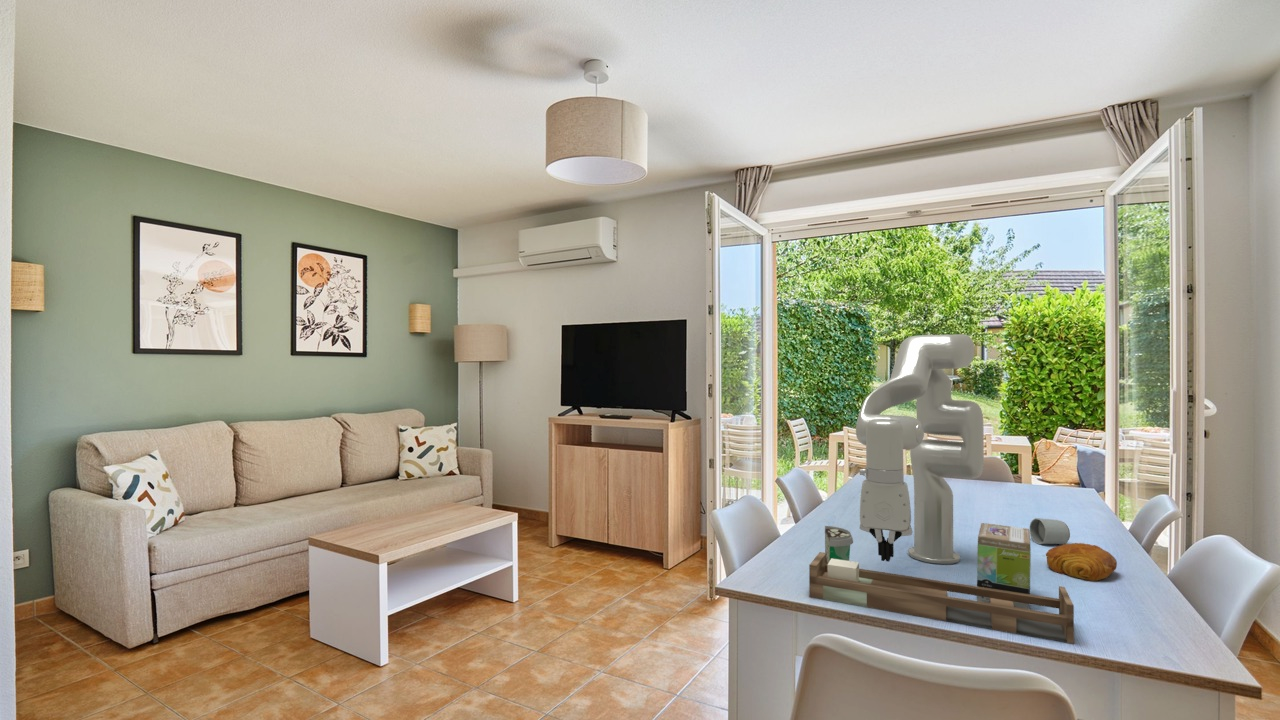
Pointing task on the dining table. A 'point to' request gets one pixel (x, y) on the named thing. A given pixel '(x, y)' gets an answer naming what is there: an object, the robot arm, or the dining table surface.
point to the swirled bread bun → (1081, 561)
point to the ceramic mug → (1049, 531)
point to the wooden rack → (947, 601)
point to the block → (843, 570)
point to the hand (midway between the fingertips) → (886, 559)
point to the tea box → (1004, 560)
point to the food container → (837, 543)
